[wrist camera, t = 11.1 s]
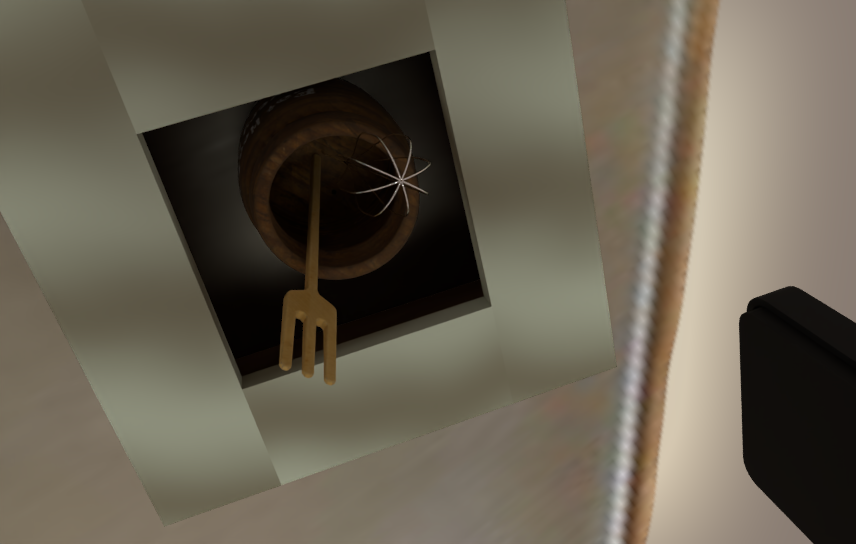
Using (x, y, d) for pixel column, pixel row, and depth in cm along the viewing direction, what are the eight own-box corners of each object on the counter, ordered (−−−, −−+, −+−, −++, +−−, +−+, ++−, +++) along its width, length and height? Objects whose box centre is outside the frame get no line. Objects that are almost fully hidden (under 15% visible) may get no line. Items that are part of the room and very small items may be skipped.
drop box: (-3, 1, 24) (-100, 19, 17) (458, -116, 26) (545, -144, 19) (178, 395, 31) (164, 526, 24) (532, 278, 33) (616, 366, 26)
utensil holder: (419, 113, 29) (525, 204, 18) (349, 252, 30) (409, 412, 20) (278, 41, 27) (303, 96, 16) (210, 195, 28) (191, 340, 17)
